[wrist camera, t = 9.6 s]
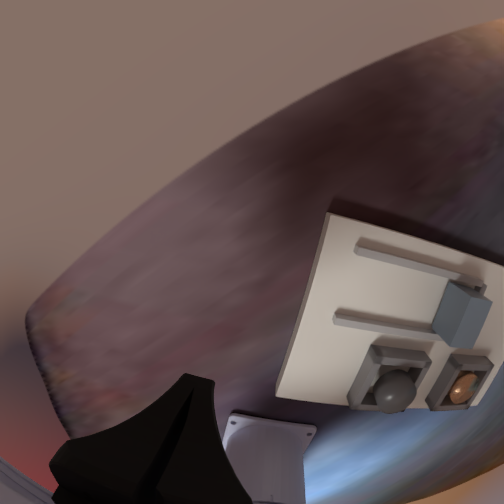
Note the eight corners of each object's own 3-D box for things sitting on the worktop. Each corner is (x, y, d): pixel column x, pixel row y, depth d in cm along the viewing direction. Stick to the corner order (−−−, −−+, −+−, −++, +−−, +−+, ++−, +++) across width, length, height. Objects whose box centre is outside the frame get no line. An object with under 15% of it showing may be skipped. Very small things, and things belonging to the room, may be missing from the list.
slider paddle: (453, 330, 18) (472, 349, 15) (431, 327, 18) (449, 347, 15) (470, 287, 17) (492, 301, 14) (448, 281, 17) (471, 296, 14)
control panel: (471, 397, 22) (483, 414, 19) (275, 384, 22) (275, 410, 19) (528, 275, 18) (547, 285, 15) (326, 211, 19) (336, 217, 16)
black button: (398, 400, 19) (405, 413, 17) (366, 399, 19) (371, 413, 17) (415, 370, 18) (423, 383, 16) (382, 367, 18) (389, 381, 16)
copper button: (460, 393, 20) (467, 403, 18) (438, 393, 20) (445, 404, 18) (476, 366, 19) (484, 376, 17) (454, 365, 19) (463, 376, 17)
